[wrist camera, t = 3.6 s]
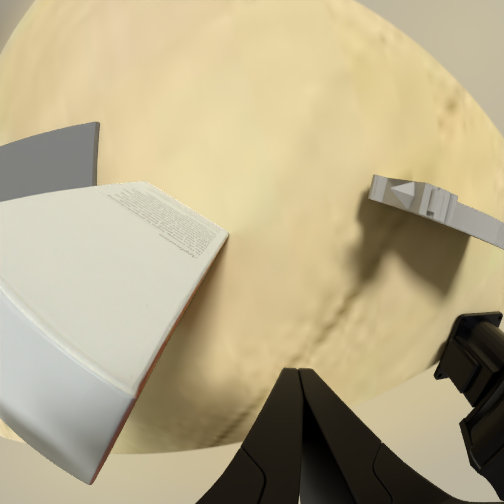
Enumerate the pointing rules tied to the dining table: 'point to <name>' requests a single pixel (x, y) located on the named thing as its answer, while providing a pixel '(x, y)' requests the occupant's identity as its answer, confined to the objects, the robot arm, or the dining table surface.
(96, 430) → the small box
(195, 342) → the dining table surface
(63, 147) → the mat
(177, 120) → the dining table surface
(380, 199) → the grey jagged flat cutout
